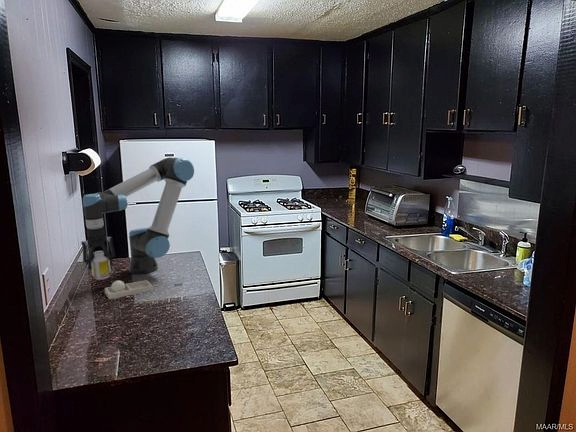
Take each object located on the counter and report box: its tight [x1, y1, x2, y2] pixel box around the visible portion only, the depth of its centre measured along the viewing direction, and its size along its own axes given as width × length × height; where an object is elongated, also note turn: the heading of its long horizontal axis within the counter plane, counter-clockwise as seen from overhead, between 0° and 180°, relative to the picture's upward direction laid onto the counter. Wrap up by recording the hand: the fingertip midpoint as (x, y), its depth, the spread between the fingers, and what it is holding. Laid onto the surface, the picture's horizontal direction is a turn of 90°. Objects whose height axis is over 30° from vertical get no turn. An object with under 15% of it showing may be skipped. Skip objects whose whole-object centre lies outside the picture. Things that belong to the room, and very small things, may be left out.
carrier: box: [104, 279, 154, 300], centre depth 199 cm, size 20×11×3 cm, turn 124°
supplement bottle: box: [91, 250, 110, 281], centre depth 202 cm, size 7×7×13 cm
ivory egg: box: [110, 280, 126, 293], centre depth 196 cm, size 6×6×6 cm
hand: (101, 273), depth 202 cm, fingers closed on supplement bottle, 7 cm apart
